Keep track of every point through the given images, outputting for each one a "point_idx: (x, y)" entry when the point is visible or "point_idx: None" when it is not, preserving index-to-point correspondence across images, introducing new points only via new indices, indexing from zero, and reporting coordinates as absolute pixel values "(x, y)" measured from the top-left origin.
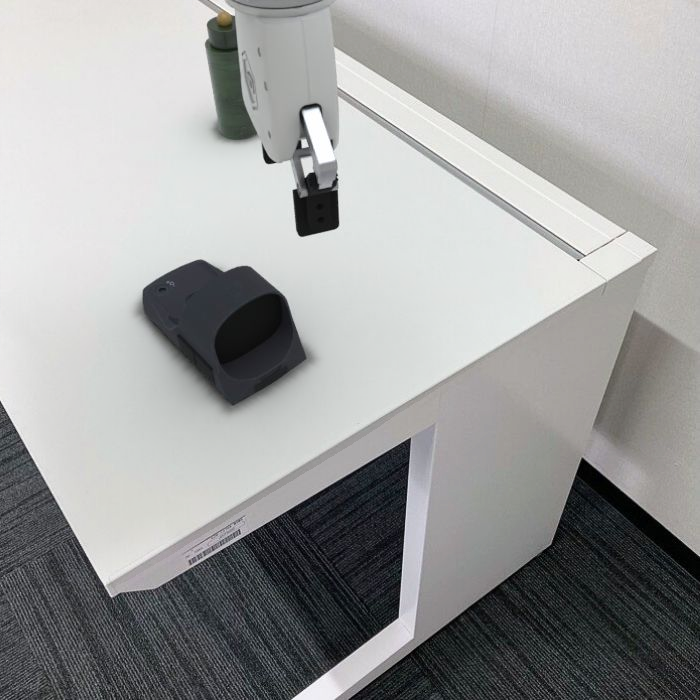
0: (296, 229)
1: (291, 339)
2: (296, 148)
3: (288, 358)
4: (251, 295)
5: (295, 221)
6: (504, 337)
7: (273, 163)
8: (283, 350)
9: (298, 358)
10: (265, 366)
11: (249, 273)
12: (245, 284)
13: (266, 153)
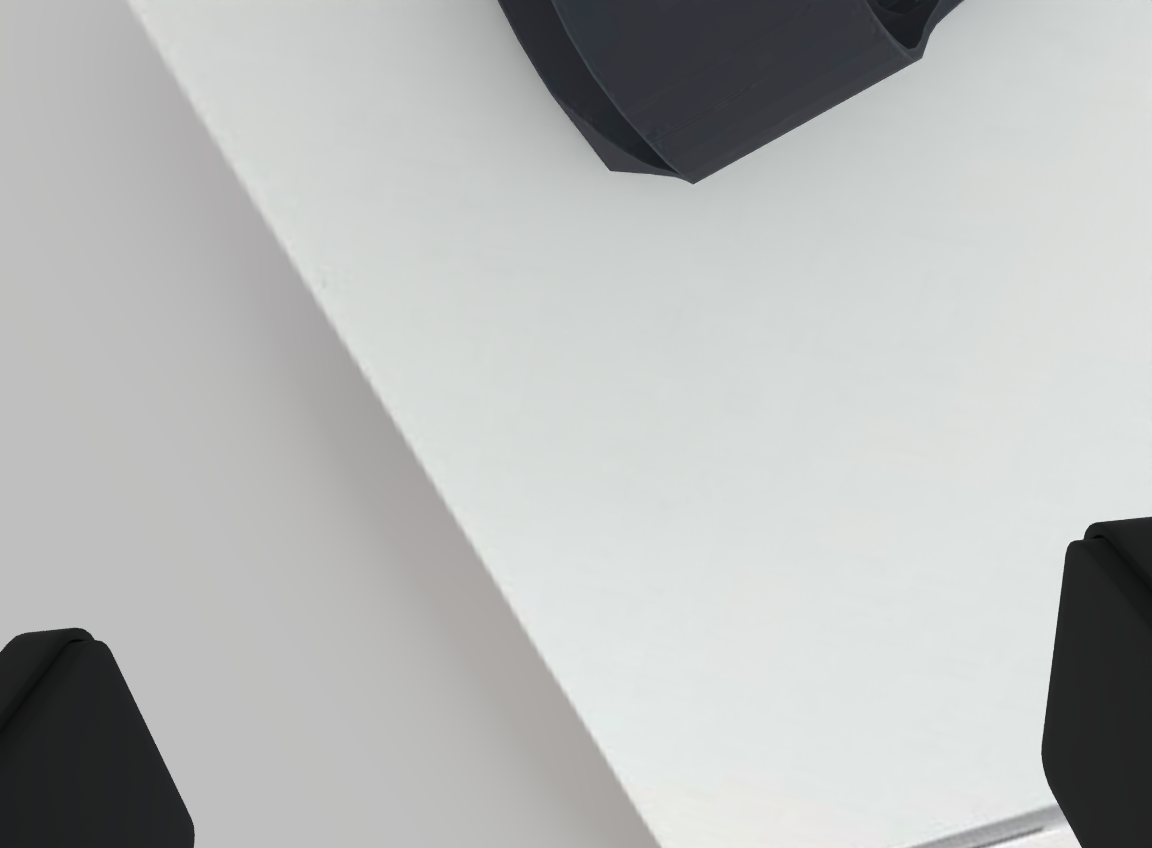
0: (34, 650)
1: (624, 144)
2: (1088, 821)
3: (570, 114)
4: (594, 44)
5: (8, 701)
6: (568, 689)
7: (1063, 576)
8: (597, 103)
9: (593, 146)
10: (540, 21)
11: (798, 46)
12: (690, 19)
13: (1131, 611)
